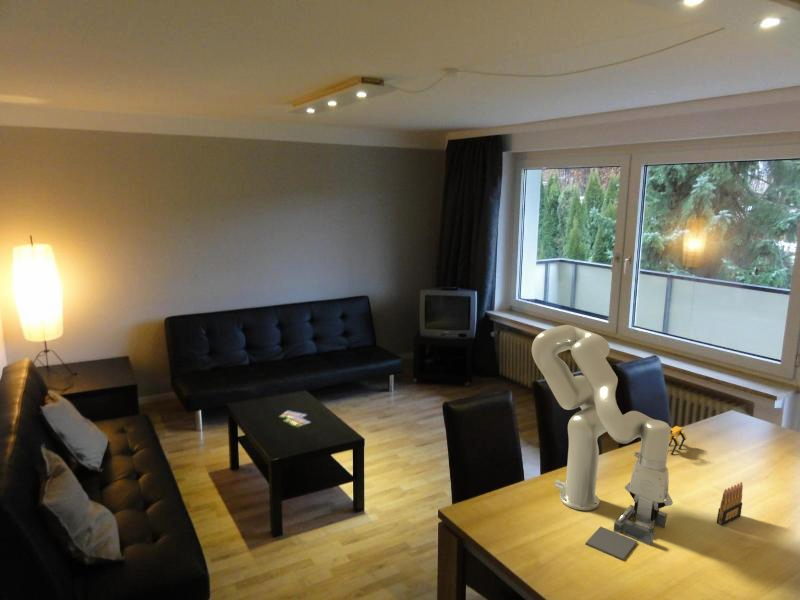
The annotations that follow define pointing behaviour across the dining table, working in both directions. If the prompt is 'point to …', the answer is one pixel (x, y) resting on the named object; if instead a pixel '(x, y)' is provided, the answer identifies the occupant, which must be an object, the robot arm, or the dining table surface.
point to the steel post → (645, 513)
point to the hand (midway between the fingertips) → (645, 515)
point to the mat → (611, 543)
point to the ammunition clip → (730, 505)
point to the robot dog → (674, 434)
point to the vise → (638, 526)
